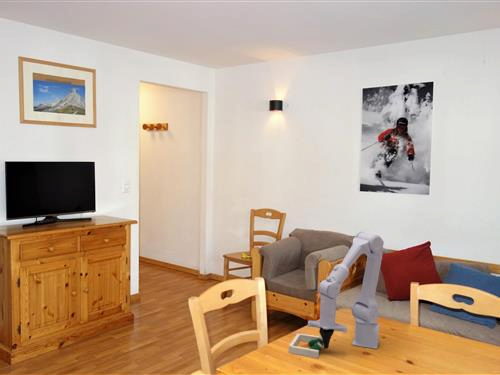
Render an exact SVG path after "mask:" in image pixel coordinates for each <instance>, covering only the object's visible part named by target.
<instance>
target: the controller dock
mask: <svg viewBox="0 0 500 375" xmlns="http://www.w3.org/2000/svg"><path fill="white" fill-rule="evenodd" d="M319 337H321V336H319V335H312V334H306V333H296V335H295V336H294V338H293V340H292V341H291V342H290V343H289V345H288V353H290V354H291V355H297V356H303V357H309V358H315V359H319V357H320V351H319V350H314V349H308V348H309V347H303V346H298V344H299V343H300V342H306V343H308V342H309V341H311V340H317V339H318V338H319ZM321 338H322V337H321ZM323 346H324V343H323Z"/></svg>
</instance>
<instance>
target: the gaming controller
mask: <svg viewBox="0 0 500 375" xmlns="http://www.w3.org/2000/svg"><path fill="white" fill-rule="evenodd" d="M307 345H308V346H309V347H307V348H308V349H314V350H319V352H320V351H322V350H323V348H324V345H323V340H322V338H321V336H319V338H318V339H317V340H311V341H309V342H307Z"/></svg>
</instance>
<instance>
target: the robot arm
mask: <svg viewBox="0 0 500 375" xmlns="http://www.w3.org/2000/svg"><path fill="white" fill-rule="evenodd" d="M384 243H385V242H384V240H383V238H382V237H381V236H380V235H378V234H372V233H369V232H368V233H367V232H364V231H358V232H357V233H356V235H355V236H354V237H353V239H352V245H351V247H350V249H349V250H348V251H347V253H346V254H345V256H344V258H343V260H342V262H341V263H339V264H338V263H337V264H335V265H334V267H333V268H332V271H331V272H330V273H329V274H328V276H327V277H326V279H323V280H322V281H321V282H320V283H319V284H318V287H317V292H318V293H319V298H320V307H319V311H320V312H319V320H310V319H309V320H308V321H307V328H317V329H319V331H318V333H319V334H320V337H322V340H323V343H324V345H323V349H324V350H328V349H329V347H330V345H329V344H330V342H331V338H332V337H333V334H334V333H335V331H337V332H343V333H346V334H347V332H348V326H347V325H343V324H339V323H336V311H337V308H336V307H337V297H338V296H339V295H340V293H341V288H342V284H343V283H344V282H345V280H346V279H347V278H348V277H349V275H350V271H349V269H351V267H352V266H353V264H355V262H356V261H357V260H358V259H359V257H360V256H361V255H363V254H365V255H366V256H367V259H366V265H365V269H364V275H363V279H362V286H361V290H360V295H359V296H357V297H356V298H354V303H353V304H352V306H351V314H352V316H353V319H354V336H353V337H354V338H353V340H352V346H356V347H362V348H363V347H364V348H369V349H375V350H377V349H378V346H379V343H380V337H379V336H380V335H379V334H380V323H378V322H377V321H378V320H379V315H380V314H379V306H380V305H379V303H378V302H377V301H376V299H375V297H376V291H377V287H378V286H377V285H378V282H379V275H380V271H381V267H382V266H381V265H382V259H383V249H384Z"/></svg>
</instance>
